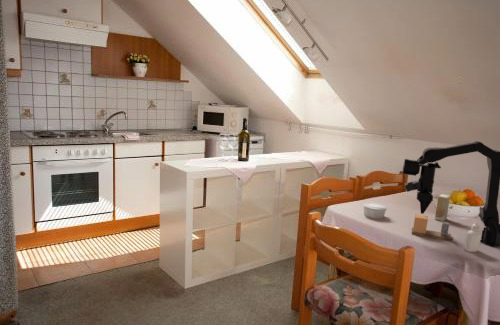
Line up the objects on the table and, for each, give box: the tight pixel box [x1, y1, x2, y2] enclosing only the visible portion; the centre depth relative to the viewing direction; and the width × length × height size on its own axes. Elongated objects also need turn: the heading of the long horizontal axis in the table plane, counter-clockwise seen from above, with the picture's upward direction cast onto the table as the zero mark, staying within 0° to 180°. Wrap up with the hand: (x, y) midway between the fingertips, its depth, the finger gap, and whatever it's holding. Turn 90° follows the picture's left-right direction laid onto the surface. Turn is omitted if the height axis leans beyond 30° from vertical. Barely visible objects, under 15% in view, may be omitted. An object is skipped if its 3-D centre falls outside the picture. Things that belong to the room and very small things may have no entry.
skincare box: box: [434, 193, 451, 222], centre depth 203 cm, size 6×4×12 cm
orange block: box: [413, 213, 429, 234], centre depth 180 cm, size 5×5×7 cm
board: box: [411, 227, 453, 242], centre depth 179 cm, size 16×7×1 cm, turn 67°
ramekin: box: [363, 202, 387, 220], centre depth 203 cm, size 11×11×5 cm
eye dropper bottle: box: [464, 221, 482, 253], centre depth 163 cm, size 4×6×12 cm
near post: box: [440, 221, 450, 237], centre depth 177 cm, size 3×3×6 cm
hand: (422, 211), depth 179 cm, fingers open, 7 cm apart
